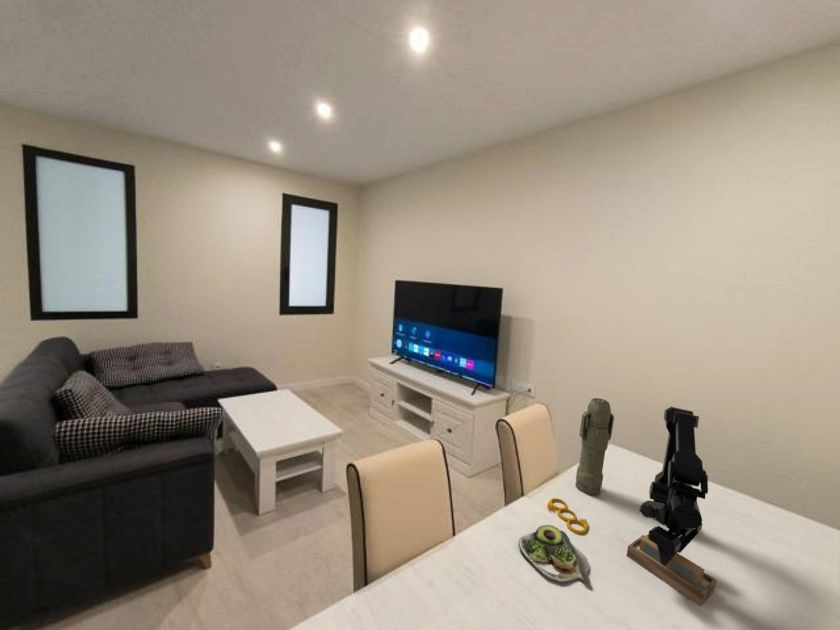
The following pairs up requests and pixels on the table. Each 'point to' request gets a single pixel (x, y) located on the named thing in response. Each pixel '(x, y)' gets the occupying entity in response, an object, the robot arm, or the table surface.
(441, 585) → the table surface
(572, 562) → the salad plate
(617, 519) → the table surface
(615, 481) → the table surface
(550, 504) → the gold linked rings
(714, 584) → the brown picture frame
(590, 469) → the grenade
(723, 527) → the table surface
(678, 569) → the tan rectangular block
